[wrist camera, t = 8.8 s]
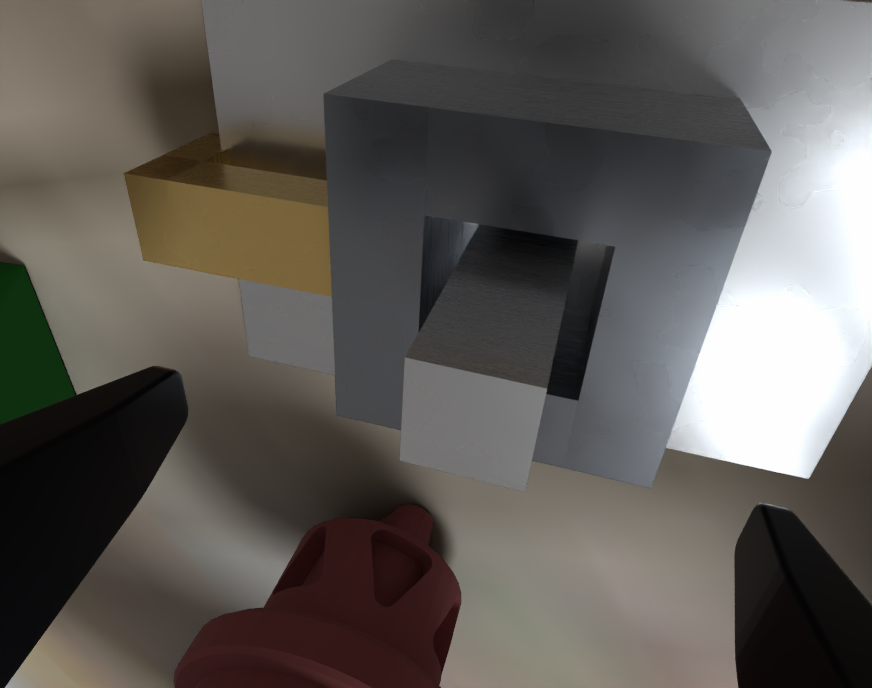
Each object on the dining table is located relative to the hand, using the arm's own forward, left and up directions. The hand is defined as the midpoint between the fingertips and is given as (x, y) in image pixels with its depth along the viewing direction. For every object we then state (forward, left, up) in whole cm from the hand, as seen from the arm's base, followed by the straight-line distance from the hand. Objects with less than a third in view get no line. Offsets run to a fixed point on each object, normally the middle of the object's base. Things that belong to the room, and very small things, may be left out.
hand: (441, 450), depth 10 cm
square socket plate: (0, 0, -10) cm, 10 cm away
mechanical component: (+4, +16, -10) cm, 19 cm away
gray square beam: (0, 0, -9) cm, 9 cm away
